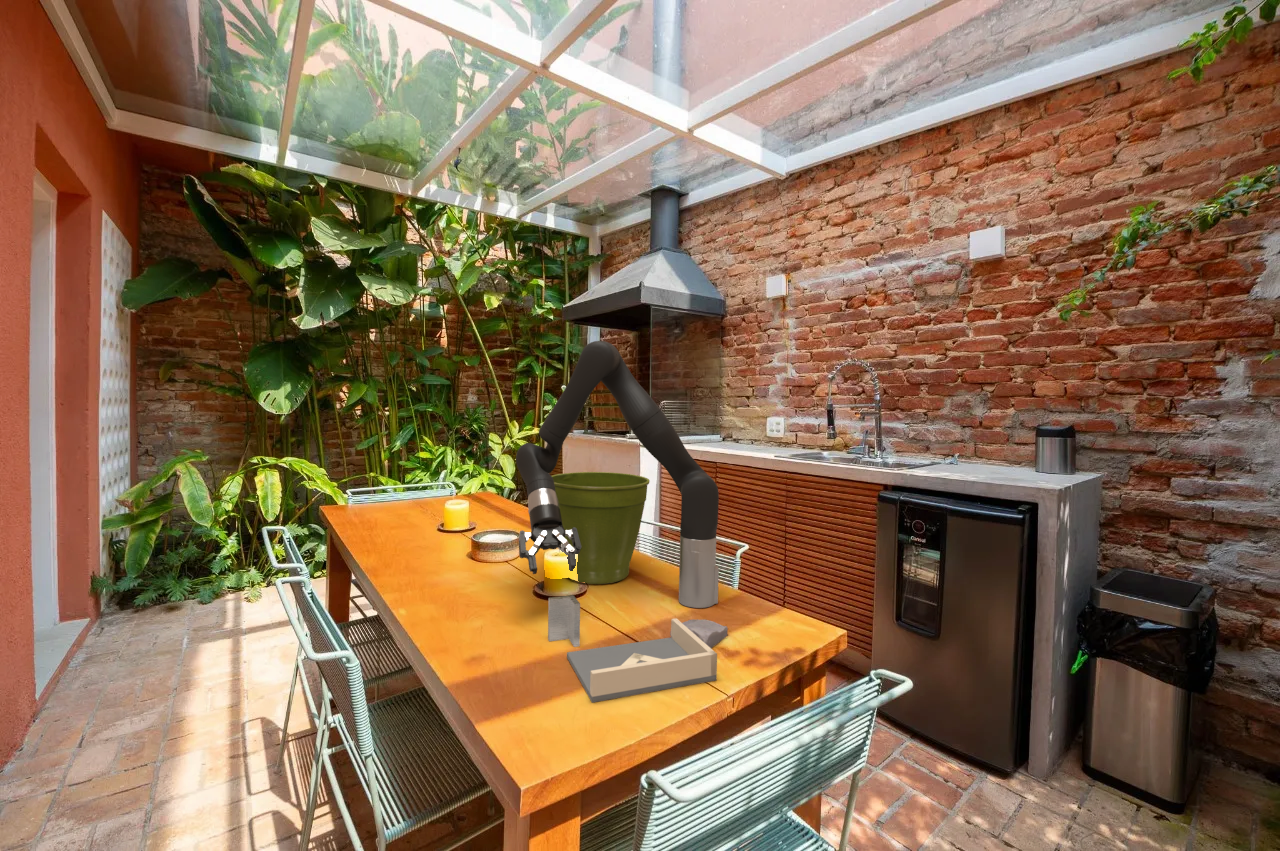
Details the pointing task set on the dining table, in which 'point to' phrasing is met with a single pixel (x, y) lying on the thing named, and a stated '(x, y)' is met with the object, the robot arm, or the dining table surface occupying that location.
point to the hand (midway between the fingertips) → (553, 570)
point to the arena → (645, 665)
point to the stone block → (707, 631)
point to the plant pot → (602, 520)
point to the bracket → (564, 619)
